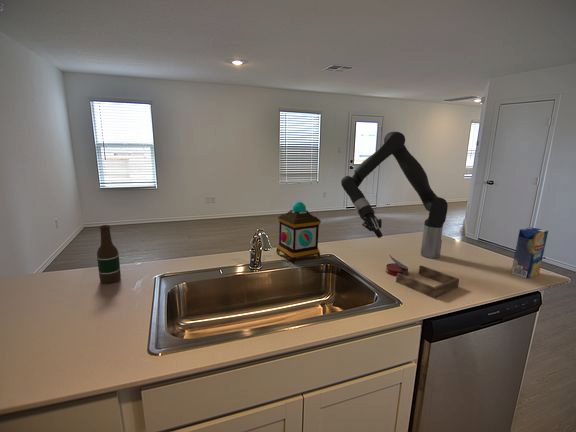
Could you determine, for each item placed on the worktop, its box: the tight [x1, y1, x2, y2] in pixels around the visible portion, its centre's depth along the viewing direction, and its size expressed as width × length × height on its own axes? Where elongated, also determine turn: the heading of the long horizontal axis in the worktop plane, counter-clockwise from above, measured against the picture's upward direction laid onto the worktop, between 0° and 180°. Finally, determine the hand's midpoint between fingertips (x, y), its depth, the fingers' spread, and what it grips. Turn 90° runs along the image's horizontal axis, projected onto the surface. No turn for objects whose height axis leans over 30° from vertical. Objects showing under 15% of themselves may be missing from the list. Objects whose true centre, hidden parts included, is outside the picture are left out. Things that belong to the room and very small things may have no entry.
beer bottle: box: [96, 224, 122, 285], centre depth 126 cm, size 8×8×24 cm
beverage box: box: [510, 227, 549, 279], centre depth 144 cm, size 7×11×22 cm, turn 118°
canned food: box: [385, 254, 409, 277], centre depth 143 cm, size 11×10×10 cm
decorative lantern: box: [275, 201, 322, 264], centre depth 160 cm, size 20×20×30 cm
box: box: [395, 265, 460, 299], centre depth 131 cm, size 18×18×4 cm
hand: (380, 237), depth 150 cm, fingers closed
